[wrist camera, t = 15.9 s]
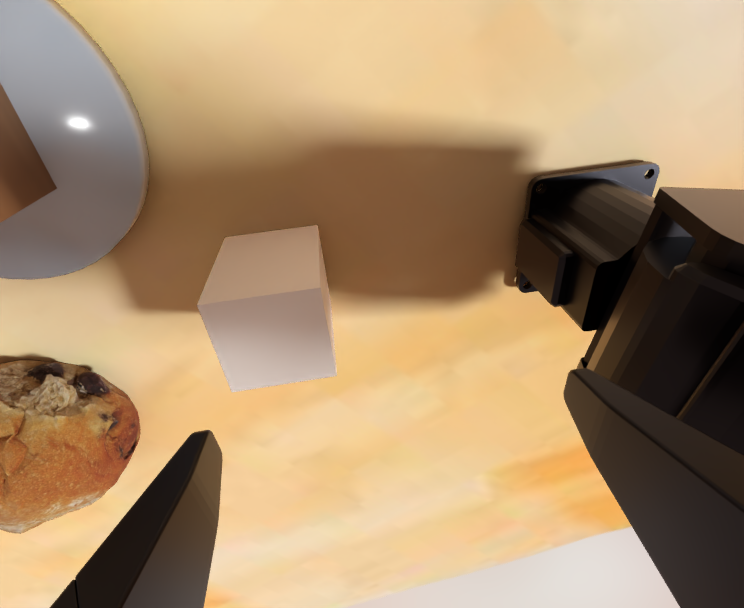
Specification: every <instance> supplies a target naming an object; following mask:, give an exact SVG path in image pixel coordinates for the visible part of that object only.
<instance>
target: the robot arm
mask: <svg viewBox="0 0 744 608" xmlns="http://www.w3.org/2000/svg"><path fill="white" fill-rule="evenodd" d="M647 170H649V171H648V173H647V174H646V175H645V176H644V174H645V172H646V171H647ZM658 174H659V166H658V165H657V164H655V163H652V162H639V163H632V164H625V165H617V166H610V167H603V168H595V169H588V170H581V171H573V172H566V173H559V174H551V175H544V176H538V177H535V178H534V179H532V180H531V182H530V183H529V186H528V190H527V198H526V206H525V214H524V220H523V221H522V222H521V224H520V229H519V238H518V246H517V254H516V263H515V265H516V267H517V268H518V270H517V278H516V286H517V287H518V289H519V290H520V291H521V292H523V293H528V292H534V291H539V292H540V293H541V294H542V296H543V297H544V298H545V299H546V300H547V301H548V302H549V303H550V304H551V305H552V306H554V307H559V306H561V307H562V308H563V310H564V311H565V312H566V313H567V314H568V315H569V316H570V317H571V318H572V319H573V320H574V321H575V322H576V324H577V325H578V326H579V327H580V328H581V329H582V330H583V331H592V330H597V331H596V333H595V335H594V337H593V340H592V342H591V344H590V346H589V348H588V350H587V352H586V355H585V357H583V358H581V360H580V362H579V364H578V366H577V369H574V370H571V371H570V372H569V373H568V377H567V381H566V385H565V389H564V400H565V402H566V405H567V407H568V409H569V411H570V413H571V416H572V418H573V420H574V422H575V424H576V426H577V429H578V431H579V433H580V435H581V437H582V439H583V442H584V444H585V446H586V448H587V450H588V452H589V454H590V456H591V458H592V460H593V461H594V463H595V465H596V467H597V468H598V470H599V472H600V473H601V475H602V477H603V478H604V480H605V482H606V483H607V485H608V487H609V488H610V490H611V492H612V494H613V495H614V497H615V499H616V500H617V502H618V504H619V505H620V507H621V509H622V510H623V512H624V514H625V515H626V517H627V519H628V520H629V522H630V524H631V525H632V527H633V529H634V531H635V532H636V534H637V535H638V537H639V539H640V541H641V542H642V544H643V546H644V547H645V549H646V550H647V552H648V553H649V556H650V557H651V559H652V561H653V562H654V564H655V566H656V567H657V569H658V571H659V573H660V574H661V576H662V577H663V579H664V581H665V583H666V584H667V586H668V588H669V589H670V591H671V592H672V594H673V596H674V598H675V599H676V601H677V603H678V604H679V606H680V608H744V190H732V189H704V188H676V187H660V188H659V191H658V193H657V195H656V197H655V198H653V197H652V194H653V191H654V187H655V184H656V181H657V178H658ZM540 184H543V186H542V188H541V189H540V190H539V191H536V189H537V187H538V186H539V185H540ZM527 281H529V282H528V283H527V284H526V285H524V283H525V282H527ZM221 474H222V452H221V449H220V447H219V445H218V443H217V441H216V439H215V437H214V435H213V433H212V432H211V431H210V430H204V431H198V432H194V433H192V434H191V435H190V436H189V437H188V439H187V440H186V441H185V442H184V443H183V445H182V446H181V447H180V448H179V450H178V451H177V452H176V453H175V455H174V456H173V457H172V458H171V459H170V461H169V462H168V463H167V464H166V466H165V467H164V468H163V469H162V471H161V472H160V473H159V474H158V475H157V477H156V478H155V479H154V480H153V482H152V483H151V484H150V485H149V487H148V488H147V489H146V490H145V491H144V493H143V494H142V495H141V496H140V498H139V499H138V500H137V501H136V503H135V504H134V505H133V506H132V507H131V509H130V510H129V511H128V512H127V514H126V515H125V516H124V517H123V519H122V520H121V521H120V522H119V524H118V525H117V526H116V527H115V528H114V530H113V531H112V532H111V533H110V535H109V536H108V537H107V538H106V540H105V541H104V542H103V543H102V544H101V546H100V547H99V548H98V549H97V551H96V552H95V553H94V554H93V556H92V557H91V558H90V559H89V560H88V562H87V563H86V564H85V565H84V567H83V568H82V569H81V570H80V572H79V573H78V574H77V575H76V577H75V580H72V581H71V582H70V584H69V585H68V586H67V587H66V589H65V590H64V591H63V592H62V594H61V595H60V596H59V597H58V598H57V600H56V601H55V602H54V603H53V604H52V606H51V607H50V608H203V607H204V602H205V596H206V590H207V585H208V579H209V573H210V568H211V562H212V556H213V550H214V545H215V539H216V533H217V527H218V518H219V505H220V490H221Z"/></svg>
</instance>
